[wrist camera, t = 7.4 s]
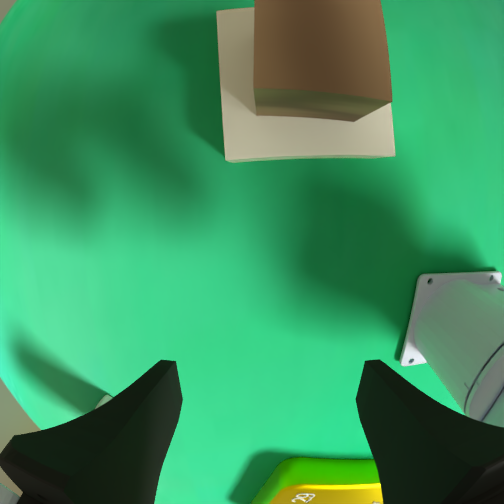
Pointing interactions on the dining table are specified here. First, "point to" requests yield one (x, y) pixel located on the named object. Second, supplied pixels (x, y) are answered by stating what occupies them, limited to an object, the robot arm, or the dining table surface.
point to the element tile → (322, 482)
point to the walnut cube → (320, 59)
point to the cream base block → (282, 127)
